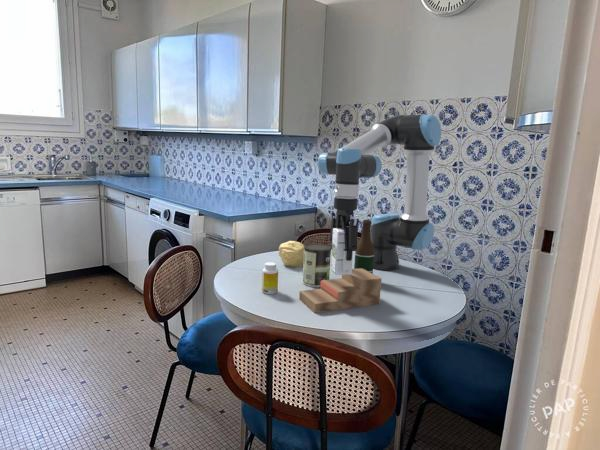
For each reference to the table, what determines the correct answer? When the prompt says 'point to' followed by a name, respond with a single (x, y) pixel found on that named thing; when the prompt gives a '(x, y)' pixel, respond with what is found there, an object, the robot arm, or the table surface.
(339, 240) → the syrup box
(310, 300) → the stepped stand
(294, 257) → the sculpture
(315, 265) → the coffee can
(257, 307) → the table surface
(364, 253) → the beer bottle
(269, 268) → the supplement bottle
